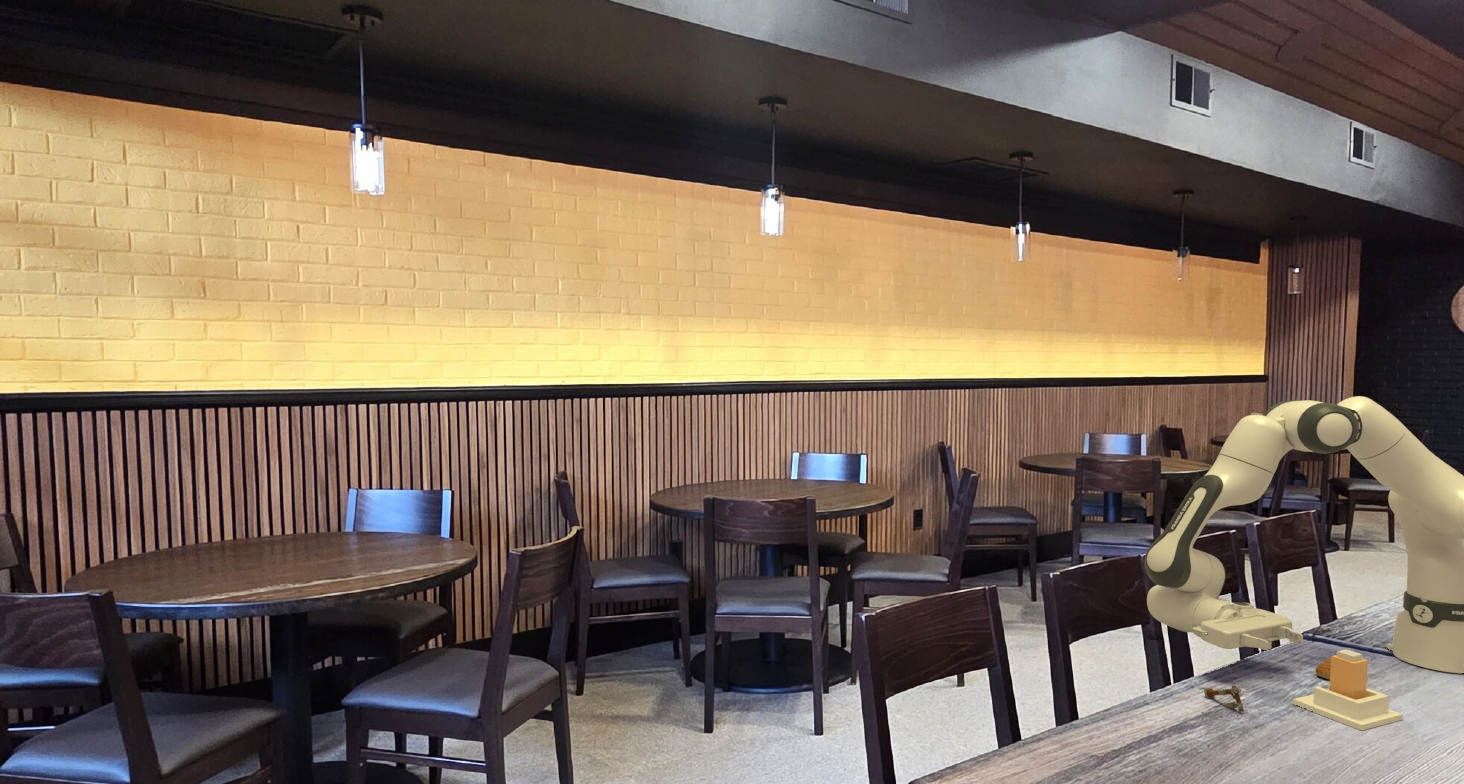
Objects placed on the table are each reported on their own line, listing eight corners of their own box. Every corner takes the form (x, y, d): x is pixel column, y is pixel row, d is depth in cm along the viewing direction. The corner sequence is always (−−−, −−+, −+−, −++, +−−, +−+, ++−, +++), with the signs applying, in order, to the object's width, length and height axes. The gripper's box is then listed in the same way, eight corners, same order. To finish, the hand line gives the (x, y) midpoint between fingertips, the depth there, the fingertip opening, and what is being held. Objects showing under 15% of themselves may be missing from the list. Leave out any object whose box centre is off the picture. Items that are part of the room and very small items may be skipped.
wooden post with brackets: (1242, 711, 155) (1235, 685, 157) (1209, 712, 162) (1203, 687, 164) (1250, 710, 156) (1243, 684, 157) (1217, 711, 163) (1210, 686, 164)
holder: (1333, 694, 166) (1334, 674, 166) (1402, 719, 155) (1403, 697, 155) (1292, 704, 161) (1293, 683, 161) (1361, 730, 150) (1362, 708, 150)
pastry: (1338, 686, 171) (1339, 667, 170) (1304, 674, 177) (1305, 656, 177) (1369, 680, 174) (1370, 661, 174) (1335, 669, 180) (1335, 651, 180)
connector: (1342, 700, 160) (1345, 647, 160) (1365, 708, 157) (1368, 654, 156) (1328, 703, 159) (1331, 650, 158) (1351, 712, 155) (1354, 657, 155)
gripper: (1185, 612, 177) (1250, 633, 164) (1252, 601, 185) (1318, 620, 172) (1184, 642, 177) (1249, 665, 164) (1251, 630, 185) (1317, 651, 173)
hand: (1285, 642), depth 168 cm, fingers open, 8 cm apart
